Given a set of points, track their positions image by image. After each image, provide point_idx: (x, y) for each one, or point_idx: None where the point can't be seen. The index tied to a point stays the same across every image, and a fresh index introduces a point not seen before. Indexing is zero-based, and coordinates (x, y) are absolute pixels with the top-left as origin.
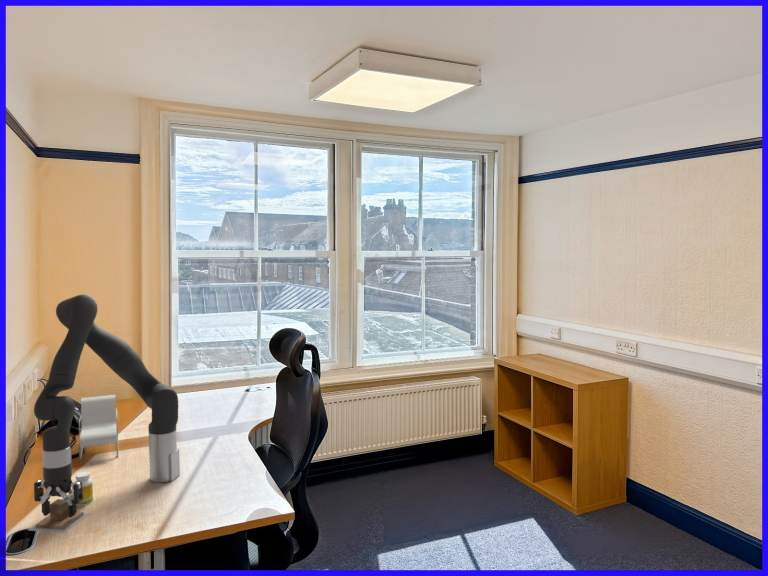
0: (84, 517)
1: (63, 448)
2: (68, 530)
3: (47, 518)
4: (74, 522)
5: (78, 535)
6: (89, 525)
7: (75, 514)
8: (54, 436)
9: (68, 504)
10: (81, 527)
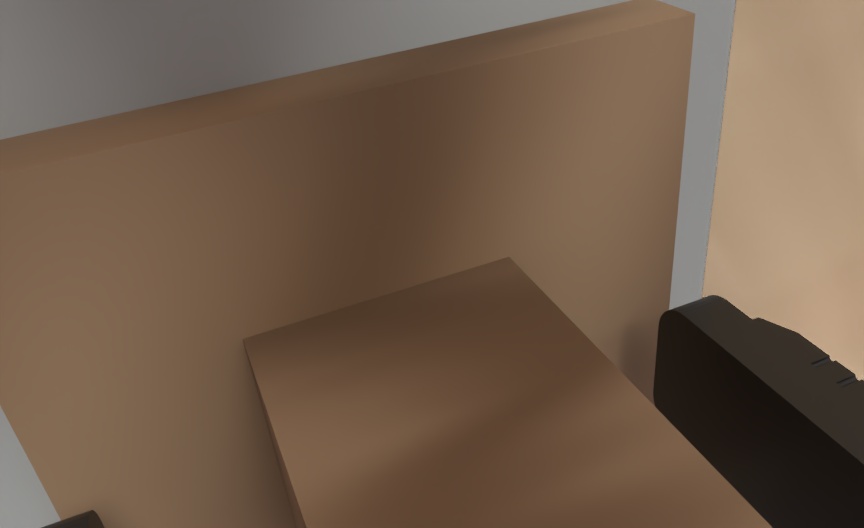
0: (711, 76)
1: None
2: None
3: (148, 524)
4: None
5: None
6: (847, 208)
7: (594, 169)
8: None
9: (675, 447)
10: (769, 292)
